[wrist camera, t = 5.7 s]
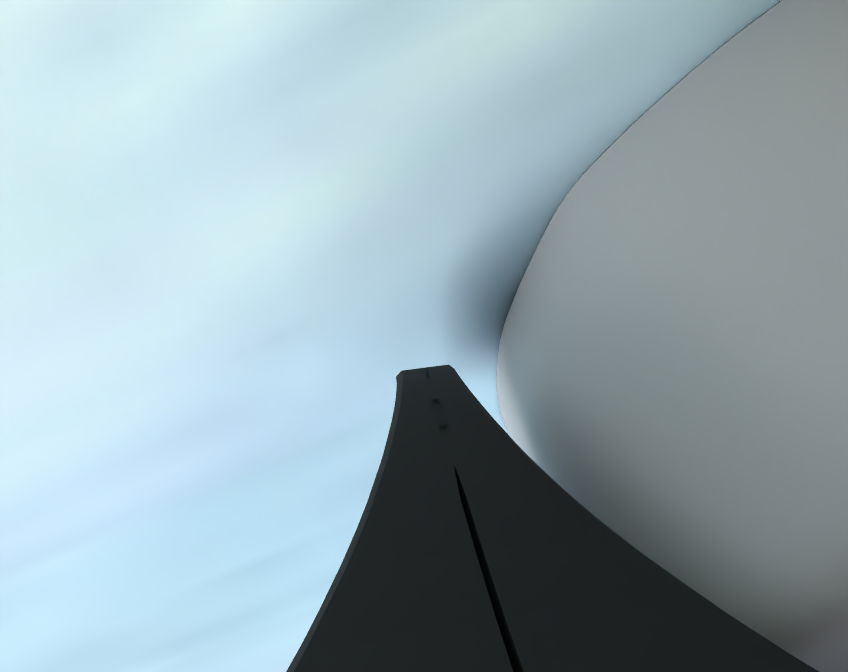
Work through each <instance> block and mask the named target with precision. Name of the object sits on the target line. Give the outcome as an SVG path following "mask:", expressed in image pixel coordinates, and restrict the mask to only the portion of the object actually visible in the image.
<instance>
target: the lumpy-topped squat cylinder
mask: <svg viewBox="0 0 848 672" xmlns="http://www.w3.org/2000/svg"><path fill="white" fill-rule="evenodd" d="M497 396H498V404H499V409H500V413H501V416H502V419H503V422H504V424H505V427H506V429H507V432H508V434H509V436H510V437H511V438H512V439H513V440H514V441H515V443H516V444H517V445H518V446H519V447H520V448H521V449H522V450H523V451H524V452H525V453H526V454H527V455H528V456H529V457H530V458H531V459H532V460H533V461H534V462H535V463H536V464H537V465H538V466H539V467H541V468H542V469H543V470H544V471H545V472H546V473H547V474H548V475H549V476H550V477H551V478H552V479H553V480H554V481H555V482H556V483H557V484H559V485H560V486H561V487H562V488H563V489H564V490H565V491H566V492H567V493H569V494H570V495H571V496H572V497H573V498H574V499H575V500H577V501H578V502H579V503H580V504H581V505H582V506H584V507H585V508H586V509H587V510H588V511H590V512H591V513H592V514H593V515H594V516H596V517H597V518H598V519H599V520H600V521H602V522H603V523H604V524H605V525H607V526H608V527H609V528H610V529H612V530H613V531H614V532H615V533H617V534H618V535H619V536H621V537H622V538H623V539H624V540H626V541H627V542H628V543H630V544H631V545H632V546H633V547H635V548H636V549H637V550H639V551H640V552H641V553H643V554H644V555H645V556H647V557H648V558H649V559H651V560H652V561H654V562H655V563H656V564H658V565H659V566H661V567H662V568H664V569H665V570H666V571H668V572H669V573H671V574H672V575H673V576H675V577H676V578H678V579H679V580H681V581H682V582H683V583H685V584H686V585H688V586H689V587H691V588H692V589H693V590H695V591H696V592H698V593H699V594H700V595H702V596H703V597H705V598H706V599H708V600H709V601H710V602H712V603H713V604H715V605H716V606H717V607H719V608H720V609H722V610H723V611H725V612H726V613H728V614H729V615H731V616H732V617H734V618H735V619H737V620H738V621H740V622H742V623H743V624H745V625H746V626H748V627H749V628H751V629H752V630H754V631H756V632H757V633H759V634H760V635H762V636H763V637H765V638H766V639H768V640H769V641H771V642H773V643H774V644H776V645H777V646H779V647H780V648H782V649H783V650H785V651H786V652H788V653H790V654H791V655H793V656H794V657H796V658H798V659H799V660H801V661H803V662H804V663H806V664H807V665H809V666H811V667H812V668H814V669H816V670H817V671H819V672H848V0H782V1H781V2H779V3H778V4H777V5H775V6H774V7H773V8H771V9H770V10H768V11H767V12H766V13H764V14H763V15H762V16H760V17H759V18H758V19H756V20H755V21H753V22H752V23H751V24H749V25H748V26H747V27H746V28H744V29H743V30H742V31H740V32H739V33H738V34H736V35H735V36H734V37H733V38H731V39H730V40H729V41H728V42H726V43H725V44H724V45H723V46H721V47H720V48H719V49H718V50H716V51H715V52H714V53H713V54H712V55H710V56H709V57H708V58H707V59H706V60H704V61H703V62H702V63H701V64H700V65H699V66H697V67H696V68H695V69H694V70H693V71H691V72H690V73H689V74H688V75H687V76H686V77H685V78H683V79H682V80H681V81H680V82H679V83H678V84H677V85H675V86H674V87H673V88H672V89H671V90H670V91H669V92H668V93H666V94H665V95H664V96H663V97H662V98H661V99H660V100H659V101H658V102H656V103H655V104H654V105H653V106H652V107H651V108H650V109H649V110H648V111H647V112H645V113H644V114H643V115H642V116H641V117H640V118H639V119H638V120H637V121H636V122H635V123H634V124H633V125H632V126H630V127H629V128H628V129H627V130H626V131H625V132H624V133H623V134H622V135H621V136H620V137H619V138H618V139H617V140H616V141H615V142H614V143H613V144H612V145H611V146H610V147H609V148H608V149H607V150H606V151H605V152H604V153H603V154H602V155H601V156H600V157H599V158H598V159H597V160H596V161H595V162H594V163H593V164H592V165H591V166H590V168H589V169H588V170H587V171H586V172H585V173H584V174H583V175H582V176H581V178H580V179H579V180H578V181H577V182H576V183H575V185H574V186H573V187H572V188H571V190H570V191H569V192H568V194H567V195H566V196H565V198H564V199H563V201H562V202H561V204H560V205H559V207H558V209H557V210H556V212H555V214H554V215H553V217H552V219H551V221H550V223H549V224H548V226H547V228H546V230H545V232H544V234H543V236H542V238H541V240H540V242H539V244H538V246H537V248H536V250H535V252H534V254H533V256H532V258H531V261H530V263H529V265H528V267H527V269H526V271H525V274H524V276H523V278H522V280H521V283H520V285H519V287H518V290H517V292H516V295H515V297H514V300H513V302H512V305H511V307H510V310H509V313H508V315H507V318H506V321H505V324H504V328H503V331H502V335H501V339H500V344H499V351H498V362H497Z"/></svg>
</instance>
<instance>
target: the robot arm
mask: <svg viewBox="0 0 848 672" xmlns="http://www.w3.org/2000/svg"><path fill="white" fill-rule="evenodd" d="M396 379H397V391H396V401H395V407H394V412H393V418H392V423H391V427H390V431H389V434H388V438H387V442H386V446H385V450H384V454H383V457H382V460H381V464H380V466H379V469H378V472H377V475H376V478H375V481H374V484H373V487H372V490H371V493H370V496H369V499H368V502H367V504H366V507H365V509H364V512H363V515H362V517H361V520H360V522H359V525H358V527H357V530H356V532H355V534H354V537H353V539H352V541H351V544H350V546H349V548H348V551H347V553H346V555H345V557H344V560H343V562H342V564H341V566H340V568H339V571H338V573H337V575H336V577H335V579H334V581H333V583H332V585H331V587H330V589H329V591H328V593H327V595H326V597H325V600H324V602H323V604H322V606H321V608H320V610H319V612H318V614H317V616H316V618H315V620H314V622H313V624H312V626H311V628H310V629H309V631H308V633H307V635H306V637H305V639H304V641H303V643H302V645H301V647H300V648H299V650H298V652H297V654H296V656H295V657H294V659H293V661H292V663H291V664H290V666H289V668H288V670H287V671H286V672H819V671H817V670H816V669H814V668H812V667H811V666H809V665H807V664H806V663H804V662H803V661H801V660H799V659H798V658H796V657H794V656H793V655H791V654H790V653H788V652H786V651H785V650H783V649H782V648H780V647H779V646H777V645H776V644H774V643H773V642H771V641H769V640H768V639H766V638H765V637H763V636H762V635H760V634H759V633H757V632H756V631H754V630H752V629H751V628H749V627H748V626H746V625H745V624H743V623H742V622H740V621H738V620H737V619H735V618H734V617H732V616H731V615H729V614H728V613H726V612H725V611H723V610H722V609H720V608H719V607H717V606H716V605H715V604H713V603H712V602H710V601H709V600H708V599H706V598H705V597H703V596H702V595H700V594H699V593H698V592H696V591H695V590H693V589H692V588H691V587H689V586H688V585H686V584H685V583H683V582H682V581H681V580H679V579H678V578H676V577H675V576H673V575H672V574H671V573H669V572H668V571H666V570H665V569H664V568H662V567H661V566H659V565H658V564H656V563H655V562H654V561H652V560H651V559H649V558H648V557H647V556H645V555H644V554H643V553H641V552H640V551H639V550H637V549H636V548H635V547H633V546H632V545H631V544H630V543H628V542H627V541H626V540H624V539H623V538H622V537H621V536H619V535H618V534H617V533H615V532H614V531H613V530H612V529H610V528H609V527H608V526H607V525H605V524H604V523H603V522H602V521H600V520H599V519H598V518H597V517H596V516H594V515H593V514H592V513H591V512H590V511H588V510H587V509H586V508H585V507H584V506H582V505H581V504H580V503H579V502H578V501H577V500H575V499H574V498H573V497H572V496H571V495H570V494H569V493H567V492H566V491H565V490H564V489H563V488H562V487H561V486H560V485H559V484H557V483H556V482H555V481H554V480H553V479H552V478H551V477H550V476H549V475H548V474H547V473H546V472H545V471H544V470H543V469H542V468H541V467H539V466H538V465H537V464H536V463H535V462H534V461H533V460H532V459H531V458H530V457H529V456H528V455H527V454H526V453H525V452H524V451H523V450H522V449H521V448H520V447H519V446H518V445H517V444H516V443H515V441H514V440H513V439H512V438H511V437H510V436H509V435H508V434H507V433H506V432H505V431H504V430H503V429H502V427H501V426H500V425H499V424H498V423H497V422H496V421H495V420H494V419H493V418H492V416H491V415H490V414H489V413H488V412H487V411H486V409H485V408H484V407H483V406H482V405H481V403H480V402H479V401H478V400H477V399H476V397H475V396H474V395H473V394H472V392H471V391H470V390H469V389H468V387H467V386H466V385H465V383H464V382H463V381H462V379H461V378H460V377H459V375H458V374H457V372H456V371H455V369H454V368H452V367H451V366H450V365H443V366H435V367H427V368H420V369H412V370H404V371H401V372H400V373H399V374H398V375H397V376H396Z"/></svg>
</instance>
